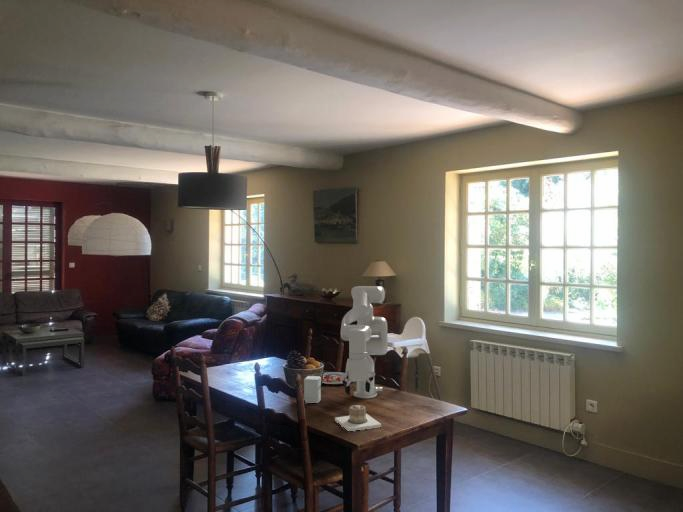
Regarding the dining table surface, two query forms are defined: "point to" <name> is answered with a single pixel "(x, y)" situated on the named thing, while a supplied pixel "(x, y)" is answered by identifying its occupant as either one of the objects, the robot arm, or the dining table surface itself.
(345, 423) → the steel post stand
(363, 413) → the beech collar
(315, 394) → the supplement box
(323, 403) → the dining table surface
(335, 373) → the ceramic plate
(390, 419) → the dining table surface
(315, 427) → the dining table surface
